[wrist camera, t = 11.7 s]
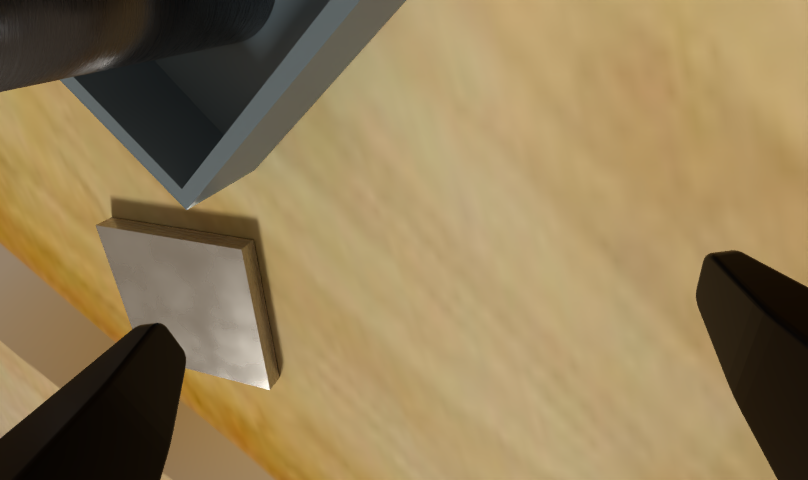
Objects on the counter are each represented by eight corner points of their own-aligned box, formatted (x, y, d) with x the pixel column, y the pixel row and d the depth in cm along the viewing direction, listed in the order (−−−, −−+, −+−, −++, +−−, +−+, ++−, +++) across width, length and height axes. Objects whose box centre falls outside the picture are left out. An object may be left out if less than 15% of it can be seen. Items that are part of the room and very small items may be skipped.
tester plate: (253, 240, 24) (241, 249, 23) (279, 377, 28) (269, 390, 27) (111, 217, 27) (95, 225, 26) (154, 346, 31) (142, 356, 30)
